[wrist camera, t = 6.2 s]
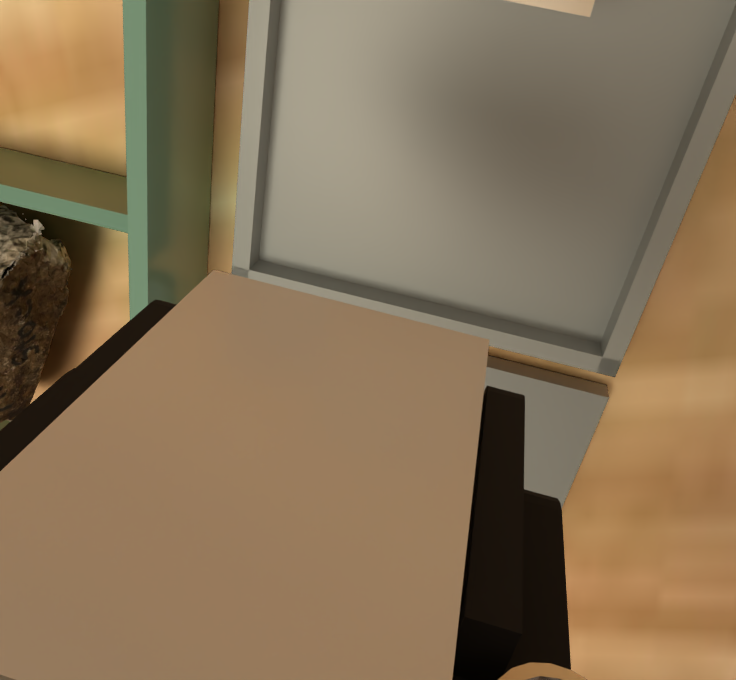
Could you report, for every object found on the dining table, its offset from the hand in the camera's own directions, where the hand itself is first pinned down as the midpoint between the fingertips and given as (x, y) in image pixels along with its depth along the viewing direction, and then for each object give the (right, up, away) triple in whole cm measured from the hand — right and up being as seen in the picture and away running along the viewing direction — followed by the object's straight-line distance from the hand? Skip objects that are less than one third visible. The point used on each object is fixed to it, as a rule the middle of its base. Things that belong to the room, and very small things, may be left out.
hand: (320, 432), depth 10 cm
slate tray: (+3, +2, +14) cm, 14 cm away
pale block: (0, 0, 0) cm, 0 cm away
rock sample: (-14, +4, +17) cm, 22 cm away
